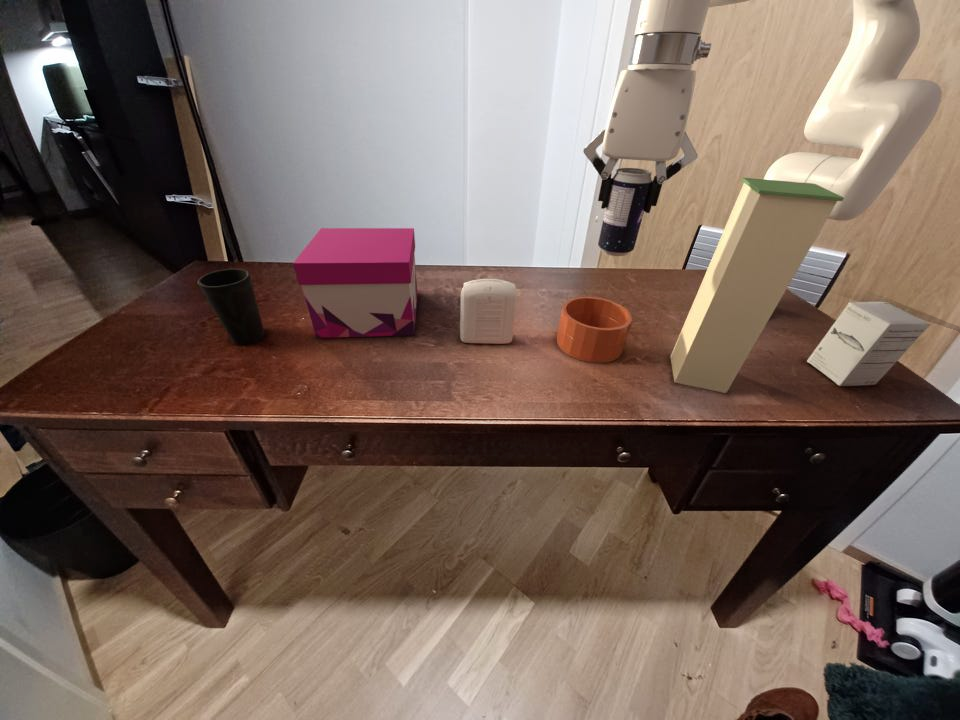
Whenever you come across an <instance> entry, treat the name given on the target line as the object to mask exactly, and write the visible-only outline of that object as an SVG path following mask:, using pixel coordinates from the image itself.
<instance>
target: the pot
mask: <svg viewBox="0 0 960 720" xmlns="http://www.w3.org/2000/svg"><path fill="white" fill-rule="evenodd" d="M632 323H633V316H632V314H631V312H630V310H628V309H627V308H626V307H625V306H624V305H622V304H619V303H617V302H616V301H612V300H610V299H608V298H602V297H598V296H578V297H573V298H570V299H568V300H567V301H565V302H564V303H563V305H562V307H561V312H560V317H559V323H558V328H557V333H556V343H557V346H558V347H559V349H560V350H561V351H562V352H564V353H565V354H566V355H568V356H570V357H572V358H573V359H576V360H579V361H583V362H586V363H587V362H588V363H596V364H601V363H609V362H612V361H615V360H616V359H618V358H619V357H620V356H621V355H622V353H623V351H624V347H625V344H626V341H627V338H628V335H629V332H630V330H631V326H632Z"/></svg>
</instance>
